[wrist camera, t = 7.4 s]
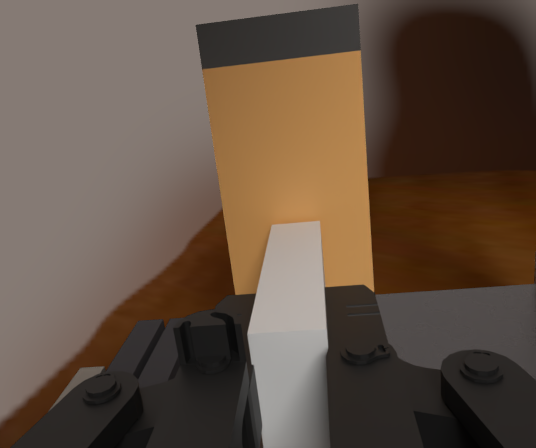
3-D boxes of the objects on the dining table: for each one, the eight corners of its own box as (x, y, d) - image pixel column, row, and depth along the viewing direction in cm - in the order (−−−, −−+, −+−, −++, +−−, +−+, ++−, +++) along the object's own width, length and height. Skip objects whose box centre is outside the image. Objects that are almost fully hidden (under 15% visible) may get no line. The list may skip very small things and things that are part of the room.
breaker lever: (265, 342, 23) (223, 32, 19) (366, 336, 23) (345, 16, 19) (253, 416, 18) (195, 24, 14) (380, 411, 18) (357, 4, 14)
